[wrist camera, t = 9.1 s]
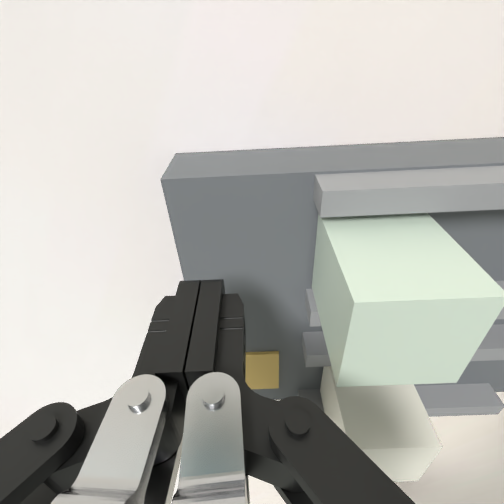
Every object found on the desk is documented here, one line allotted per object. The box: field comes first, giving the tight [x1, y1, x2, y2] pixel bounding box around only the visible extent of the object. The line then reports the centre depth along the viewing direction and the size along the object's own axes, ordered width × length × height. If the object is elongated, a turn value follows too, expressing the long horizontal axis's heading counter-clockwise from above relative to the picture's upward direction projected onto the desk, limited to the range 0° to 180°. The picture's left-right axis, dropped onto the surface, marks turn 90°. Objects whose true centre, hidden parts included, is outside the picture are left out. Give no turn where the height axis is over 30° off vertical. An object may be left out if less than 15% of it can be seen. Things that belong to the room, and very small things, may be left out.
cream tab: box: [320, 366, 443, 482], centre depth 16 cm, size 4×4×5 cm
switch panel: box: [161, 137, 504, 416], centre depth 17 cm, size 16×24×4 cm, turn 93°
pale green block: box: [312, 213, 504, 387], centre depth 11 cm, size 4×4×5 cm
